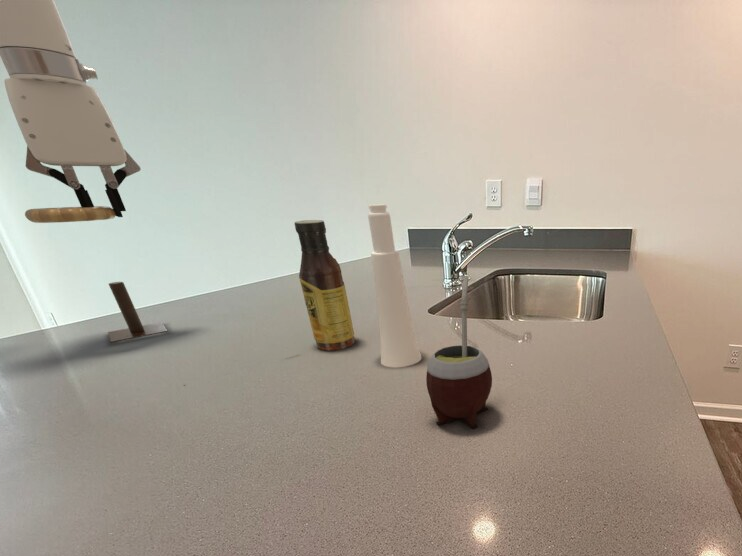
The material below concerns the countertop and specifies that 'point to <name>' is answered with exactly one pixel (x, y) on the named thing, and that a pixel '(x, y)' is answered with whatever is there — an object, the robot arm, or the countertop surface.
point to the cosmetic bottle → (391, 294)
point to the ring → (69, 214)
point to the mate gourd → (459, 378)
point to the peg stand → (130, 317)
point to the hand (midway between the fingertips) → (107, 216)
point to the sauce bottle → (323, 289)
